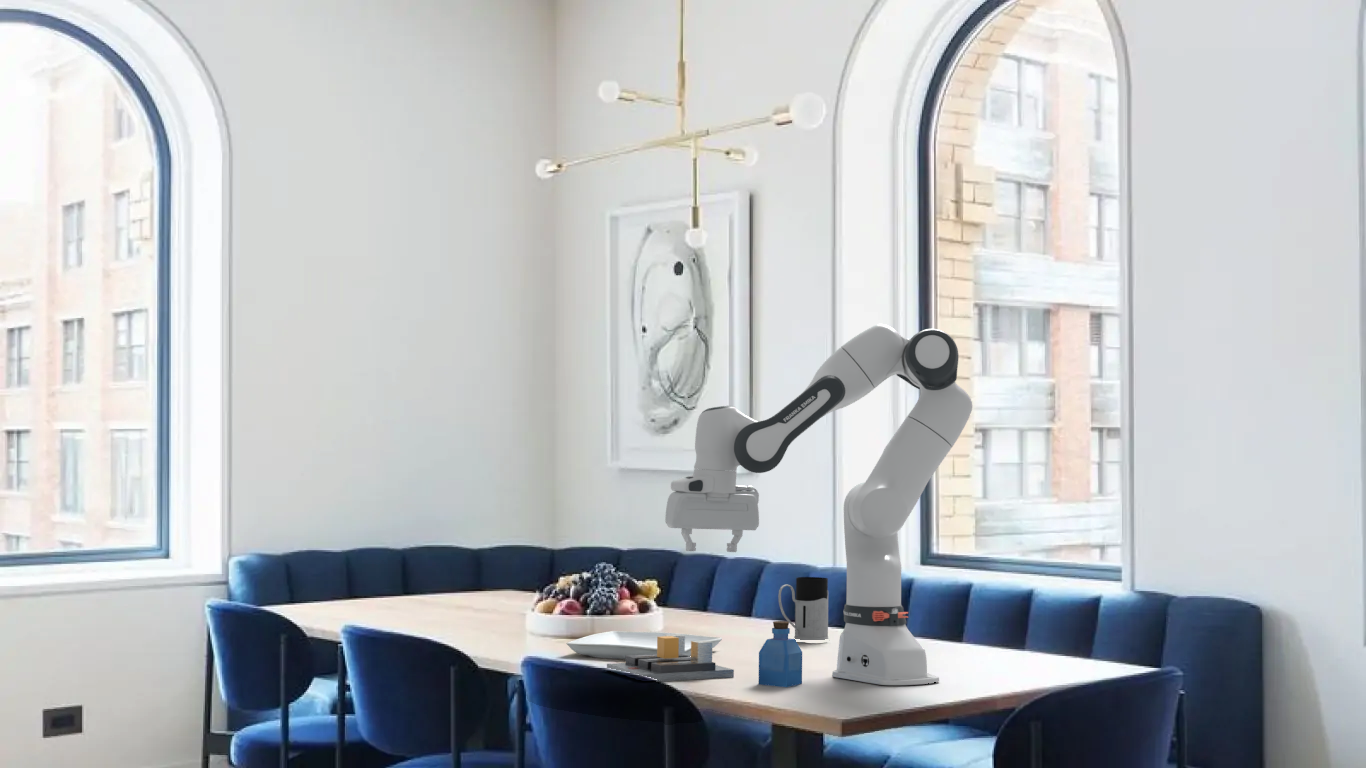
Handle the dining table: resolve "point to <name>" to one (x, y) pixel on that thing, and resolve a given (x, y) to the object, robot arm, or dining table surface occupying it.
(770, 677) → the blue glass bottle
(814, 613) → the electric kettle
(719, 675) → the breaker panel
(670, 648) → the handle
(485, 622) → the dining table surface
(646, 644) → the square plate
